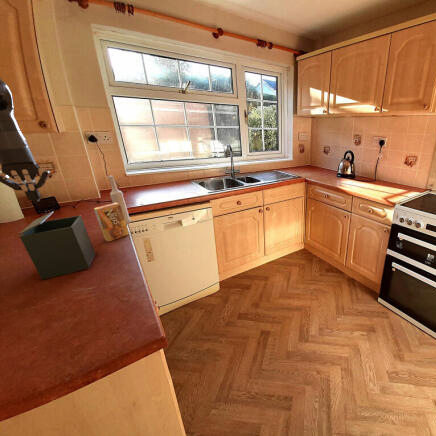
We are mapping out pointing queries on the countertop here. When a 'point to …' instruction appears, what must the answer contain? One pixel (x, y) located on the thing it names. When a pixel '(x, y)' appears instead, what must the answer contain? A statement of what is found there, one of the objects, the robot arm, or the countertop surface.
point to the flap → (36, 223)
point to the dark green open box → (59, 246)
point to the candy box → (111, 221)
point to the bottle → (119, 199)
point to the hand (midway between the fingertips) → (35, 201)
